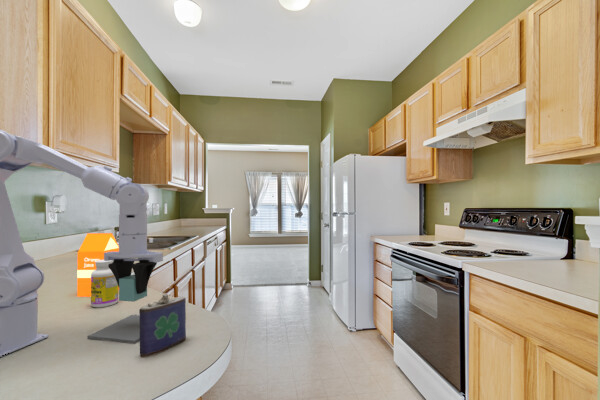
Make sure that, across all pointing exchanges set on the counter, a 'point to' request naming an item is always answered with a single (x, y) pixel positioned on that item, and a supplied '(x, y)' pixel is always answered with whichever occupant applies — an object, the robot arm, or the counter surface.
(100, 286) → the supplement bottle
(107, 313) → the counter surface
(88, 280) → the orange juice
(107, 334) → the mat
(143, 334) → the flask
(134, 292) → the teal block
